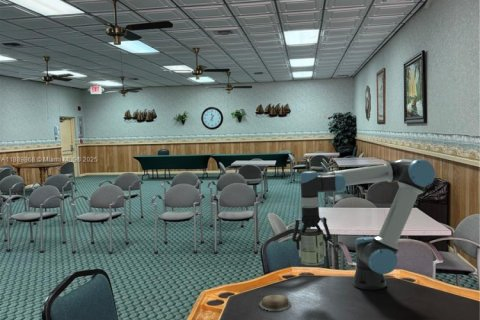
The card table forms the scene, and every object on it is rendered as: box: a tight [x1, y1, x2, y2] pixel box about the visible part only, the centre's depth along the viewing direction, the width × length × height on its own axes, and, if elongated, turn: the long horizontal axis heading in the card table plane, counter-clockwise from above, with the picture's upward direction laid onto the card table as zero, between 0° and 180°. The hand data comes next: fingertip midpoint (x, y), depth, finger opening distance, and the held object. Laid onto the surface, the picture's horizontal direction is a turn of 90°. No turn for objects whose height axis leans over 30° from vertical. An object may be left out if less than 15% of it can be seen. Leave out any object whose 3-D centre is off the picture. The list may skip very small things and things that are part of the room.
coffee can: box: [299, 228, 325, 266], centre depth 194 cm, size 10×10×14 cm
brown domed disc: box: [258, 294, 292, 312], centre depth 191 cm, size 14×14×3 cm
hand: (312, 256), depth 195 cm, fingers closed on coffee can, 10 cm apart
